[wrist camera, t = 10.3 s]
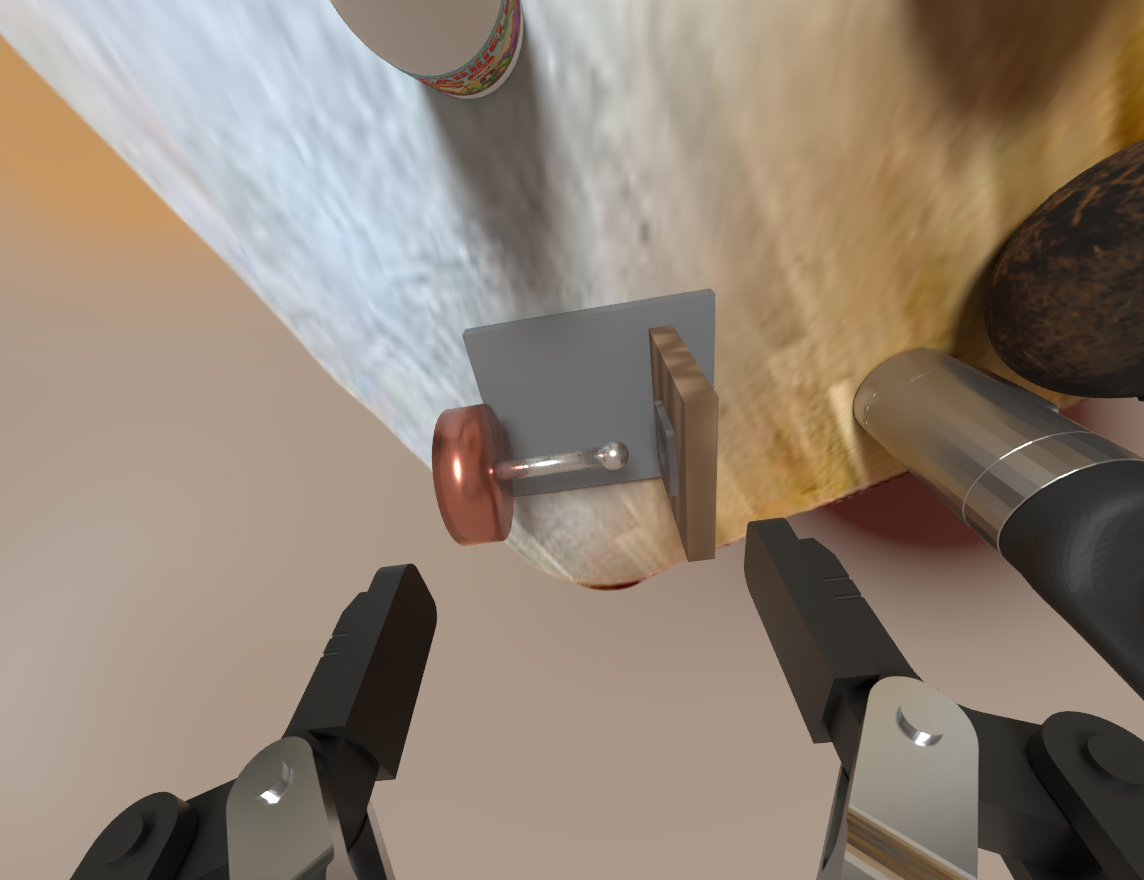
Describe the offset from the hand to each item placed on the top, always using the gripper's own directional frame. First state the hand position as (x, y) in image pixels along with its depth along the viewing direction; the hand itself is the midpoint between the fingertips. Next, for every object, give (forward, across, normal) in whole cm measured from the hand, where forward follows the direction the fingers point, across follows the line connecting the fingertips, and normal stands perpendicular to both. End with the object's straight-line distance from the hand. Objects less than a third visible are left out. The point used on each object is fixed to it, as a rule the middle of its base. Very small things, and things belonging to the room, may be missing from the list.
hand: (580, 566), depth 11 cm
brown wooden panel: (+29, -7, +12) cm, 32 cm away
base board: (+30, -1, +12) cm, 32 cm away
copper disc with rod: (+27, +4, +12) cm, 29 cm away
